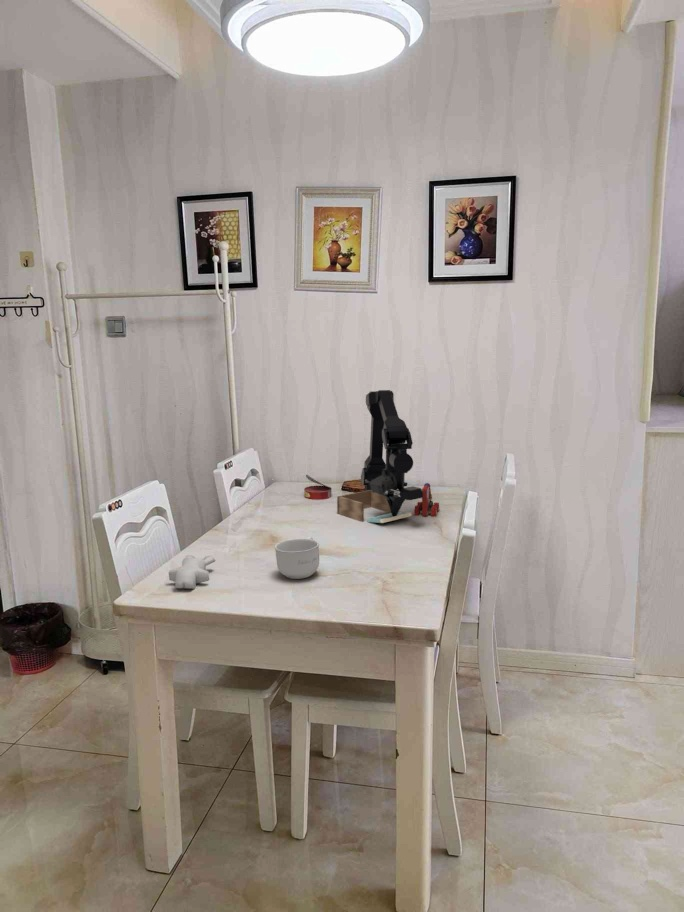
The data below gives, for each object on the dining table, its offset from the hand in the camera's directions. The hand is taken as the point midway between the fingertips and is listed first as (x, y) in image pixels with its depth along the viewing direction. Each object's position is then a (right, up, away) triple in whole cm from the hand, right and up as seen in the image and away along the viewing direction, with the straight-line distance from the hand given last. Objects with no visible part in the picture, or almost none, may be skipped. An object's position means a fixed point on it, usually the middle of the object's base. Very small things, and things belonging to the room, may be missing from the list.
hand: (394, 516), depth 206 cm
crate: (-8, -1, +11) cm, 13 cm away
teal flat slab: (-3, -1, +5) cm, 6 cm away
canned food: (-25, +3, +39) cm, 46 cm away
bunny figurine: (-52, -12, -42) cm, 68 cm away
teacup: (-26, -11, -38) cm, 47 cm away
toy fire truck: (+11, -1, +12) cm, 17 cm away
